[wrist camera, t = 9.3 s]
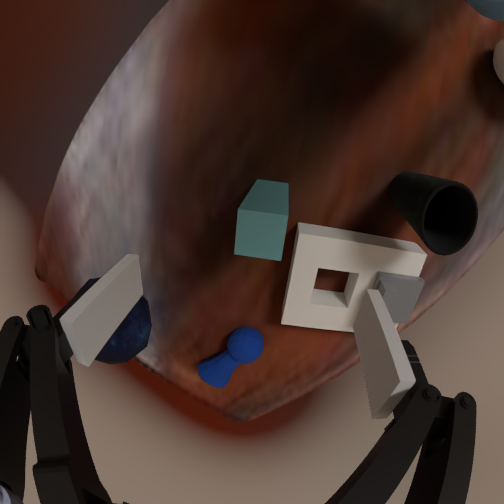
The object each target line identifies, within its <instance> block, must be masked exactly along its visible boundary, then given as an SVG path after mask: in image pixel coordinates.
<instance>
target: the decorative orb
mask: <svg viewBox="0 0 504 504" xmlns="http://www.w3.org/2000/svg"><path fill="white" fill-rule="evenodd" d="M100 278H101V277H100ZM100 278H94V279H89V280H88V281H87V282H86V283H85V284H84V286H83V287H82V288H81V289H80V290H79V291H78V292H77V293H76V295H77V294H78V293H80V292H82V291H84V290H89V289H90V288H91V287H92V286H93V285H94V284H95V283H96V282H97V281H98V280H99V279H100ZM76 295H75V296H76ZM151 326H152V324H151V318H150V312H149V306H148V301H147V300H146V299H145V298H144V297H143V295H142V296H141V297H140V299H139V300H138V301H137V303H136V304H135V305H134V306H133V308H132V309H131V310H130V312H129V313H128V314H127V315H126V317H125V318H124V319H123V321H122V322H121V323H120V325H119V326H118V327H117V329H116V330H115V331H114V333H113V334H112V335H111V337H110V338H109V339H108V341H107V342H106V344H105V345H104V346H103V348H102V349H101V350H100V352H99V353H98V355H97V356H96V357H95V360H98V361H101V362H104V363H108V364H115V363H123V362H128V361H129V360H130V359H131V358H133V357H134V356H136V355H137V354H138V353H139V352H141V351H142V350H143V349H144V348H146V347H147V344H148V339H149V335H150V331H151Z"/></svg>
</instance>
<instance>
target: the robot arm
mask: <svg viewBox="0 0 504 504" xmlns="http://www.w3.org/2000/svg"><path fill="white" fill-rule="evenodd" d="M465 1H466V2H467V3H468V4H470V5H471V6H472V7H473V8H474V9H475V10H476V11H477V12H478V13H480V14H481V15H483V16H484V17H487V18H490V19H493V20H497V21H504V0H465ZM142 295H143V288H142V280H141V271H140V262H139V255H135V254H130V253H128V254H127V255H126V256H124V257H123V258H122V259H121V260H120V261H119V262H118V263H117V264H115V265H114V266H113V267H112V268H111V269H110V270H109V271H108V272H107V273H106V274H105V275H104V276H102V277H101V278H100V279H99V280H98V281H97V282H96V283H95V284H94V285H93V286H92V287H91V288H90V289H89V290H84V291H82V292H80V293H78V294H77V295H76V296H74V297H73V298H72V299H71V301H69V302H68V303H67V305H65V306H64V307H63V308H62V309H61V310H60V311H59V312H58V313H57V314H56V315H55V316H54V318H53V317H52V315H51V312H50V309H49V307H47V306H46V305H37V306H35V307H33V308H31V309H30V310H29V311H28V312H27V315H26V316H27V319H28V321H29V324H30V325H25V324H24V322H23V319H22V318H21V317H19V316H13V317H10V318H9V319H7V320H6V321H5V323H4V324H3V327H2V329H1V331H0V504H23V502H22V501H23V497H24V489H25V461H26V445H27V434H28V425H29V417H30V411H31V414H32V425H33V433H34V441H35V447H36V453H37V460H38V461H37V463H36V464H35V465H33V476H34V480H35V485H36V488H37V492H38V496H39V500H40V503H41V504H114V503H112V501H111V499H110V497H109V495H108V493H107V491H106V490H105V488H104V487H103V485H102V484H101V482H100V480H99V477H98V475H97V472H96V469H95V466H94V463H93V460H92V457H91V453H90V450H89V447H88V443H87V439H86V436H85V432H84V428H83V424H82V420H81V415H80V410H79V405H78V400H77V395H76V389H75V383H74V376H73V369H72V362H71V360H70V357H71V356H72V355H73V354H74V356H75V359H76V360H77V362H78V363H80V364H83V365H85V366H87V367H89V366H90V364H91V363H92V362H93V360H94V359H95V357H96V356H97V355H98V353H99V352H100V350H101V349H102V348H103V346H104V345H105V344H106V342H107V341H108V339H109V338H110V337H111V335H112V334H113V333H114V331H115V330H116V329H117V327H118V326H119V325H120V323H121V322H122V321H123V319H124V318H125V317H126V315H127V314H128V313H129V312H130V310H131V309H132V308H133V306H134V305H135V304H136V303H137V301H138V300H139V299H140V297H141V296H142ZM353 330H354V334H355V338H356V342H357V346H358V351H359V355H360V360H361V364H362V369H363V373H364V378H365V383H366V388H367V393H368V398H369V404H370V409H371V415H372V419H381V418H387V417H388V416H389V415H390V414H391V413H392V411H393V414H394V419H393V420H392V421H391V422H390V423H389V424H388V426H387V427H386V428H385V429H384V430H385V432H384V433H383V434H382V436H381V437H380V439H379V440H378V442H377V443H376V444H375V446H374V447H373V448H372V450H371V451H370V452H369V454H368V455H367V457H366V458H365V459H364V460H363V461H362V463H361V464H360V465H359V466H358V468H357V469H356V470H355V471H354V472H353V474H352V475H351V476H350V477H349V478H348V479H347V481H346V482H345V483H344V484H343V485H342V486H341V487H340V488H339V489H338V491H337V492H336V493H335V494H334V495H333V496H332V497H331V498H330V499H329V500H328V501H327V502H326V503H325V504H385V503H386V502H387V501H388V499H389V498H390V496H391V495H392V493H393V492H394V491H395V489H396V488H397V486H398V485H399V483H400V482H401V480H402V478H403V477H404V475H405V474H406V472H407V470H408V469H409V467H410V465H411V463H412V462H413V460H414V458H415V456H416V455H417V453H418V451H419V449H420V447H421V445H422V449H421V452H420V456H419V460H418V464H417V467H416V471H415V474H414V477H413V480H412V484H411V487H410V489H409V492H408V495H407V498H406V501H405V503H404V504H465V502H466V497H467V493H468V488H469V483H470V477H471V471H472V464H473V456H474V446H475V433H476V401H475V400H474V398H473V397H472V396H471V395H470V394H468V393H466V392H461V393H459V394H458V395H457V396H456V397H455V398H454V399H453V398H449V397H444V396H441V393H440V391H439V390H438V389H437V388H436V387H434V386H433V385H430V384H428V381H427V379H426V376H425V373H424V371H423V368H422V366H421V364H420V363H419V362H420V361H419V359H418V357H417V354H416V351H415V349H414V347H413V346H412V345H411V344H410V343H409V341H407V340H400V337H399V335H398V333H397V330H396V328H395V325H394V323H393V321H392V318H391V316H390V314H389V312H388V309H387V307H386V305H385V303H384V301H383V298H382V296H381V294H380V292H379V290H373V289H366V292H365V295H364V298H363V301H362V303H361V306H360V309H359V311H358V314H357V317H356V319H355V322H354V324H353ZM17 356H18V360H17ZM16 360H17V361H16ZM422 443H423V444H422ZM123 504H129V503H126V502H123Z"/></svg>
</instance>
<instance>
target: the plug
mask: <svg viewBox="0 0 504 504" xmlns="http://www.w3.org/2000/svg"><path fill="white" fill-rule="evenodd" d="M288 194H289V183H283V182H276V181H268V180H261V179H257V180H256V182H255V183H254V185H253V187H252V188H251V190H250V191H249V193H248V194H247V196H246V197H245V199H244V200H243V202H242V204H241V205H240V207H239V208H238V215H237V227H236V239H235V251H234V254H237V255H244V256H250V257H257V258H264V259H271V260H277V261H281V259H282V253H283V247H284V240H285V234H286V228H287V221H288Z"/></svg>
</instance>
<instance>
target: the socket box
mask: <svg viewBox="0 0 504 504" xmlns="http://www.w3.org/2000/svg"><path fill="white" fill-rule="evenodd" d="M426 256H427V254H426V253H425V252H424V251H423V250H422V249H421V248H420V247H419V246H418V245H417V244H416V243H414V242H408V241H403V240H398V239H393V238H388V237H382V236H377V235H371V234H366V233H360V232H354V231H349V230H343V229H337V228H331V227H325V226H319V225H312V224H306V223H299V222H298V226H297V232H296V238H295V243H294V249H293V254H292V260H291V265H290V271H289V276H288V281H287V286H286V291H285V296H284V301H283V306H282V319H281V324H286V325H293V326H301V327H310V328H318V329H327V330H337V331H348V332H354V330H353V324H354V322H355V319H356V317H357V314H358V311H359V309H360V306H361V303H362V301H363V298H364V295H365V292H366V289H372V288H373V285H374V282H375V279H376V276H377V273H378V271H381V272H388V273H395V274H401V275H408V276H415V277H419V275H420V272H421V270H422V267H423V264H424V262H425V259H426ZM318 268H323V269H330V270H337V271H344V272H350V273H349V276H348V280H347V283H346V286H345V289H344V293H342V292H334V291H327V290H319V289H313V287H314V283H315V279H316V275H317V271H318ZM398 324H399V323H394V325H395V328H397V326H398Z"/></svg>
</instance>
